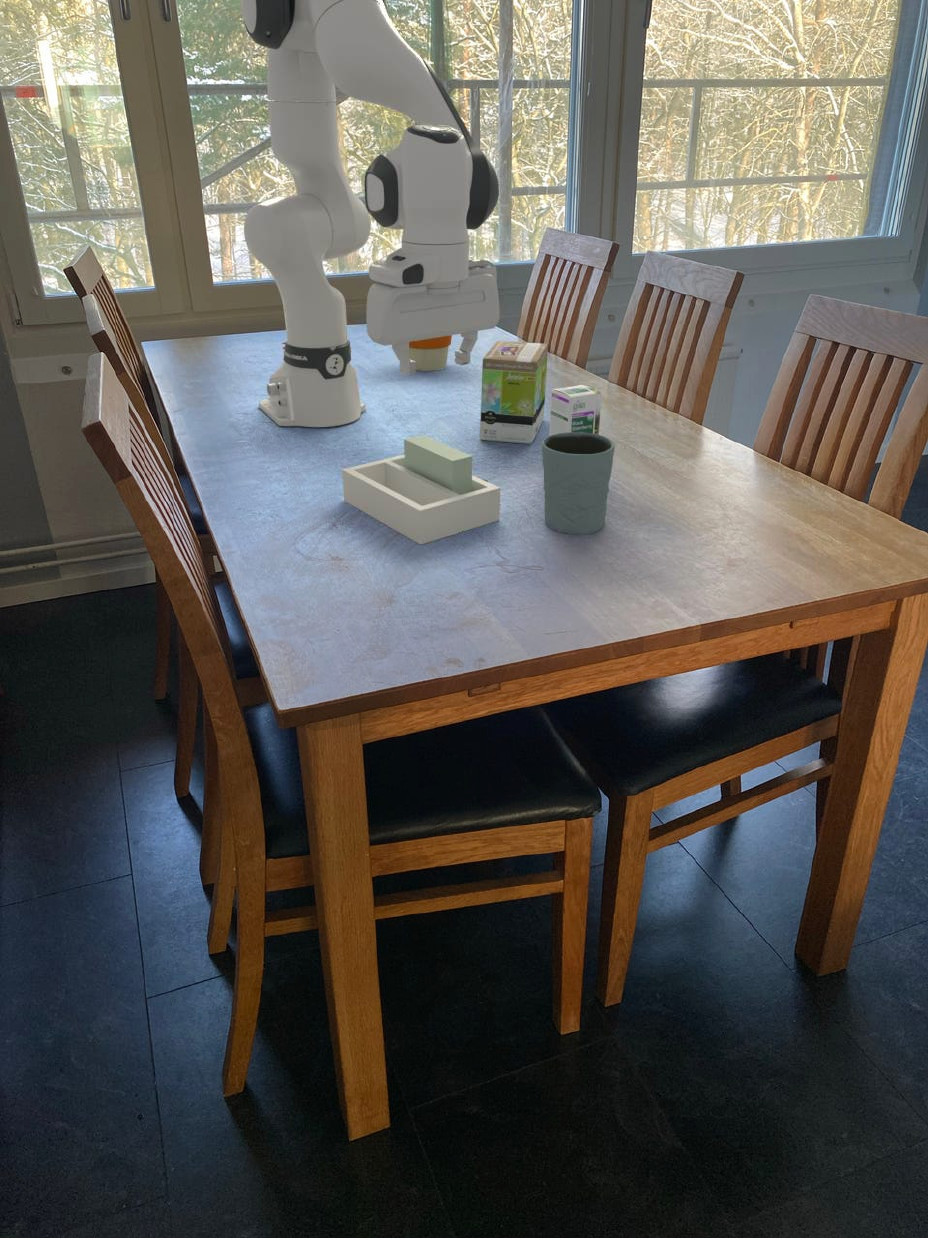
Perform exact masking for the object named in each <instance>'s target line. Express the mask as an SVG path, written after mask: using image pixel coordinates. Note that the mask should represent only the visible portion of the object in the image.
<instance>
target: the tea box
mask: <svg viewBox="0 0 928 1238" xmlns="http://www.w3.org/2000/svg"><path fill="white" fill-rule="evenodd" d="M548 353H549V344H548V343H538V342H537V343H536V342H520V341H508V340H507V341H505V340H503V341H502V340H497V341H496V342H495V343H494V344H493V345H492V347H491V348H490V349H489V351H487V353H485V355H484V356H483V358H482V367H481V368H482V371H481V395H480V396H481V397H480V398H481V399H480V400H481V401H480V421H479V423H480V424H479V440H482V441H483V440H484V441H490V442H491V441H492V442H500V443H501V442H502V443H514V444H532V443H533V441H534V440H535V438H536V436H537V434H538V431H539V430H540V428H541V426H542V423H543V421H544V417H545V416H544V415H545V403H546V385H547V370H548Z"/></svg>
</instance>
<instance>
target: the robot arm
mask: <svg viewBox="0 0 928 1238" xmlns="http://www.w3.org/2000/svg"><path fill="white" fill-rule="evenodd" d="M387 4H388V3H387V0H240V10H241V15H242V19H243V23H244V28H245V29H246V32H247V34H248V35H249V37H250V38H251V39H252V41H253V42H254V43H255V44H257V45H259V46H261V47H264V48H267V49H268V55H267V70H266V71H267V76H266V78H267V79H266V80H267V86H266V87H267V103H268V104H267V105H268V117H269V128H270V130H269V131H270V145H271V151H272V153H273V155H274V157H275V159H276V160H277V161H278V162H279V163H280V164H281V165H282V166H284V167H286V168H287V169H288V171H289V172H290V175H291V177H292V179H293V182H294V185H295V189H296V194H295V195H283V196H276V197H271V198H269V199H267V200H264V201H261V202H259V203H257V204H255V205H253V206H252V207H251V208H250V209H249V210H248V212H247V213H246V215H245V219H244V223H243V224H244V225H243V235H244V240H245V243H246V246H247V248H248V250H249V252H250V253H251V255H252V256H253V257H254V259H256V261H258V262H259V263H261V264H262V265H263V266H264V267H265V268H266V269H267V271H269V273H270V275H271V276H272V278H273V280H274V282H275V284H276V287H277V289H278V291H279V295H280V298H281V302H282V307H283V314H284V315H283V316H284V321H285V323H284V324H285V330H286V342H282V343H281V345H284V346H282V350H283V361H284V362H282V364H280V366H279V367H278V368H277V369H276V371H275V372H273V374H271V375H270V377H269V381H268V382H269V383H267V384H266V391H267V394H268V396H269V397H266V398H265V399H262V400H260V401H258V408H260V409H261V410H262V412H263V413H265V414H266V415H267V416H268V417H269V418H270V420H272V421H273V422H275V423H276V424H277V425H278V426H280V427H305V428H306V427H307V428H328V427H336V426H338V427H339V426H342V425H347V424H350V423H353V422H355V421H357V420H358V419H360V418H361V414H362V412H364V411H365V410H367V407H366V404H365V402H362V401H361V396H360V388H359V381H358V373H357V369H356V368H355V366H353V365H352V364H351V362H352V361H351V360H352V347H351V341H350V340H349V339H348V328H347V327H348V326H347V325H348V323H347V309H346V306H347V305H346V304H347V303H346V299H345V297H344V295H343V293H342V292H341V291H340V290H339V289H338V288H336V287H334V286H332V285H331V284H330V283H329V281H328V277H327V276H326V273H325V269H324V264H323V261H327V260H328V261H329V260H334V259H340V258H341V259H342V258H344V257H347V256H348V255H350V254H353V253H355V252H357V251H358V250H360V249H361V248H363V247H364V246H365V245H366V243H367V242H368V240H369V237H370V234H371V218H370V217H372V218H373V220H374V221H375V222H377V224H378V225H380V226H381V227H383V228H386V229H390V230H403V231H402V236H401V247H400V248H398V249H396V250H394V251H393V252H391V253H389V254H387V255H385V256H384V257H381V258H380V259H378V260H376V261H374V262H372V263H371V264H370V265H369V267H368V275H369V279H370V280H371V281H373V282H374V283H372V285H371V286H370V288H368V289H369V290H368V293H367V298H366V317H365V318H366V319H365V320H366V333H367V336H368V337H369V338H370V340H371V342H373V343H374V344H375V343H376V344H378V345H381V346H391V349H392V351H393V353H394V354H395V356H396V358H397V359H398V361H399V371H400V374H401V375H402V376H403V375H404V376H410V375H414V374H416V373H417V370H416V369H415V367H416V361H413V360H410V359H409V357H408V355H407V353H406V350H409V342H412V341H418V340H424V339H430V338H437V337H443V336H449V335H452V336H454V335H460V337H461V338H463V339H462V341H461V344H460V346H459V349H458V350H454V357H455V358H454V362H455V364H456V365H459V366H466V365H469V364H471V352H472V351H473V349H474V347H475V345H476V342H477V340H478V332H479V331H485V330H486V331H487V330H490V329H496V327H497V325H498V323H499V321H500V301H499V291H498V284H497V281H498V279H497V276H498V274H497V273H498V271H497V268H496V266H495V264H494V263H493V262H491V261H490V259H488V258H480V259H475V260H474V259H469V258H470V235H469V232H468V230H471V231H472V230H477V229H478V228H480V226H482V225H483V224H484V223H485V222H486V221H487V220H488V219H489V217H490V216H491V215H492V214H493V212H494V210H495V208H496V206H497V204H498V201H499V196H500V195H499V194H500V187H499V185H500V184H499V181H498V175H497V172H496V169H495V168H494V166H493V164H492V162H491V161H490V159H489V158H488V157H487V155H486V154H485V153H484V152H483V150H482V148H480V147H479V146H478V145H477V143H476V141H475V140H474V139H473V137H472V135H471V133H470V132H469V130H468V128H467V126H466V124H465V123H464V121H463V119H462V117H461V115H460V113H459V112H458V110H457V108H456V107H455V104H454V103H453V101H452V99H451V97H450V95H449V93H448V92H447V90H446V88H445V86H444V84H443V83H442V81H441V79H440V77H439V76H438V75H437V73H436V71H435V70H434V69H433V66H432V65H431V64H430V63H429V62H428V61H427V60H426V59H425V58H423V56H421V55H420V54H418V53H417V51H415V50H414V49H413V48H412V47H411V46H410V45H409V43H408V42H406V40H405V39H404V38H403V37H402V36H401V34H400V33H399V32H398V30H397V29H396V27H395V26H394V24H393V23H392V21H391V18H390V17H389V13H388V8H387V7H388V5H387ZM336 88H337V89H338V90H339V91H340V92H341V93H343V94H344V95H347V96H348V97H349V98H353V99H355V100H358V101H361V102H365V103H370V104H373V105H377V106H381V107H384V108H386V109H390V110H393V111H395V112H398V113H401V114H403V115H405V116H406V117H408V118H409V119H411V120H412V121H413V122H414V123H416V124H414V125H411V126H410V125H409V126H408V127H407V128H405V130H404V131H403V135H402V139H401V143H399V144H398V145H397V146H396V147H395V148H393V149H391V150H389V151H387V152H386V153H382V154H381V153H380V154H378V155H377V156H376V157H375V158H374V159H373V161H372V162H371V164H369V166H368V167H367V170H366V171H365V175H364V199H365V200H364V201H365V203H364V202H363V201H362V200H361V199H360V198H358V196H357V195H356V194H355V192H354V191H353V189H352V187H351V186H350V183H349V181H348V179H347V176H346V173H345V171H344V170H345V169H344V167H343V163H342V159H341V154H340V145H339V144H340V143H339V133H338V116H337V114H338V113H337V112H338V111H337V95H336V93H337V92H336Z"/></svg>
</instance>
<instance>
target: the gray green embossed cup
mask: <svg viewBox="0 0 928 1238" xmlns="http://www.w3.org/2000/svg"><path fill="white" fill-rule="evenodd" d="M615 448H616V443H615V442H614V441H613V440H611V439H610V438H609V437H608V436H607V437H606V436H604V435H600V434H599V435H597V434H592V433H582V432H568V433H559V434H554V435H551V436H547V437H544V439H543V440H542V441H541V454H542V455H541V456H542V457H541V458H542V468H543V491H544V495H543V496H544V523H545V525H546V527H547V528H549V529H550V530H552V531H554V532H556V531H559V532H558V533H560V532H562V533H561V534H565V533H567V534H566V535H574V534H584V535H590V534H589V533H591V534H593V533H594V534H595V533H597V532H599V531H600V530H602V529H603V527H604V526H605V521H606V515H607V501H608V495H609V491H610V490H609V489H610V487H609V484H610V479H611V476H612V470H613V462H614V456H615Z"/></svg>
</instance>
